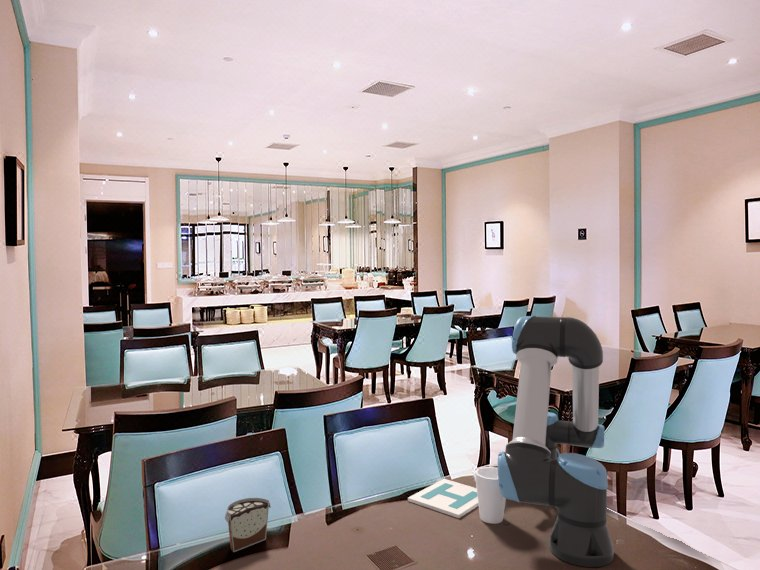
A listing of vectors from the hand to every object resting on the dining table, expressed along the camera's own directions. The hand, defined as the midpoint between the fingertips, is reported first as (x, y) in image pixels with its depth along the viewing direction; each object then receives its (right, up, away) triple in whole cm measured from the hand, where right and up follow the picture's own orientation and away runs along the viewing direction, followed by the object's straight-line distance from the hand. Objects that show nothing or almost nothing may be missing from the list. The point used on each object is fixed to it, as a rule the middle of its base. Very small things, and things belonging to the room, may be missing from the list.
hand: (500, 487), depth 162 cm
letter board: (-13, -6, +9) cm, 17 cm away
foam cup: (-4, -7, -5) cm, 9 cm away
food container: (-70, -7, -19) cm, 73 cm away
